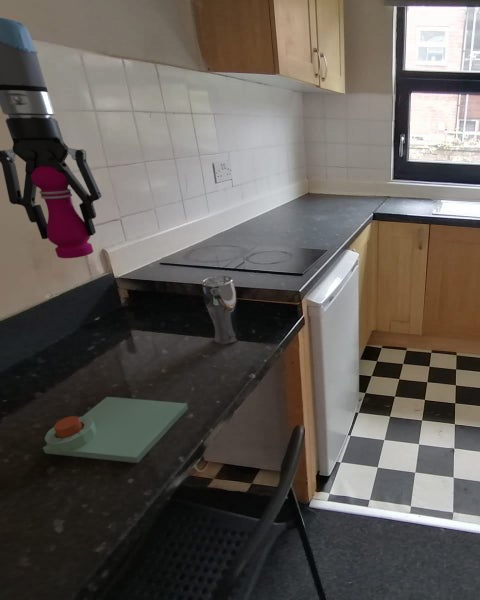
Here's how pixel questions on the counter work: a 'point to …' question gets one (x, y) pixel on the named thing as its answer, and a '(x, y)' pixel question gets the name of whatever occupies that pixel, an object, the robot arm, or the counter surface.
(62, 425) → the power button
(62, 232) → the pepper mill
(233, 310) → the beer glass
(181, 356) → the counter surface
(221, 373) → the counter surface
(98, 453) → the scale
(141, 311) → the counter surface
